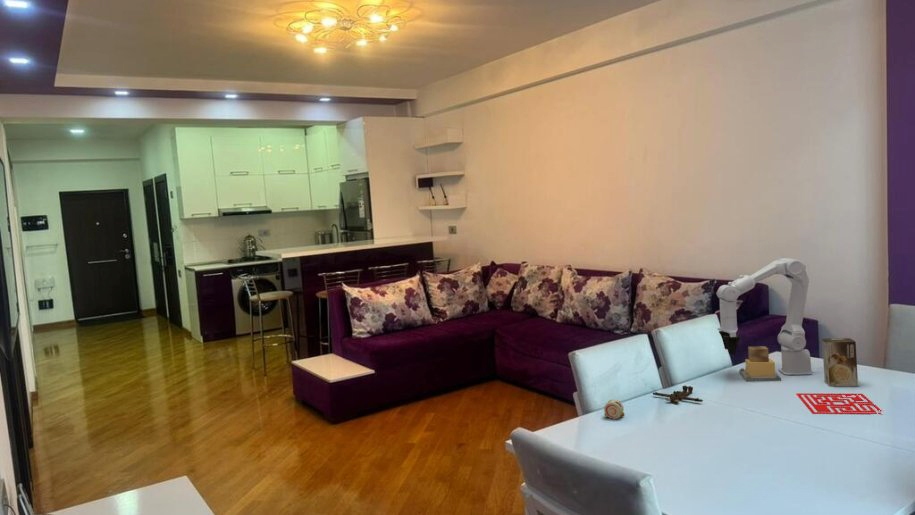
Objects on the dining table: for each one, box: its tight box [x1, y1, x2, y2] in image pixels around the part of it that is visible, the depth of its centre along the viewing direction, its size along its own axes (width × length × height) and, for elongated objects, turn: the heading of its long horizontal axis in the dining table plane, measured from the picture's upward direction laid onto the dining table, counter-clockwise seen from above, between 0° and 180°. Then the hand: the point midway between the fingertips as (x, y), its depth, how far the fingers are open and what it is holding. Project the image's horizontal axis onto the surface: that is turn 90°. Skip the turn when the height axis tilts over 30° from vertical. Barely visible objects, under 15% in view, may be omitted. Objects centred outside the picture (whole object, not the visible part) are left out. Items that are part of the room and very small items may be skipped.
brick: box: [744, 358, 776, 376], centre depth 234 cm, size 9×6×5 cm, turn 77°
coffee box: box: [821, 337, 859, 388], centre depth 218 cm, size 9×6×16 cm
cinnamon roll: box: [603, 398, 625, 420], centre depth 204 cm, size 4×6×6 cm
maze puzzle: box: [795, 392, 883, 415], centre depth 200 cm, size 20×20×1 cm
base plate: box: [738, 367, 782, 383], centre depth 235 cm, size 12×12×2 cm
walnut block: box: [747, 345, 770, 363], centre depth 234 cm, size 6×4×5 cm
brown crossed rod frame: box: [652, 384, 704, 404], centre depth 218 cm, size 18×4×14 cm
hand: (730, 351), depth 236 cm, fingers open, 7 cm apart
